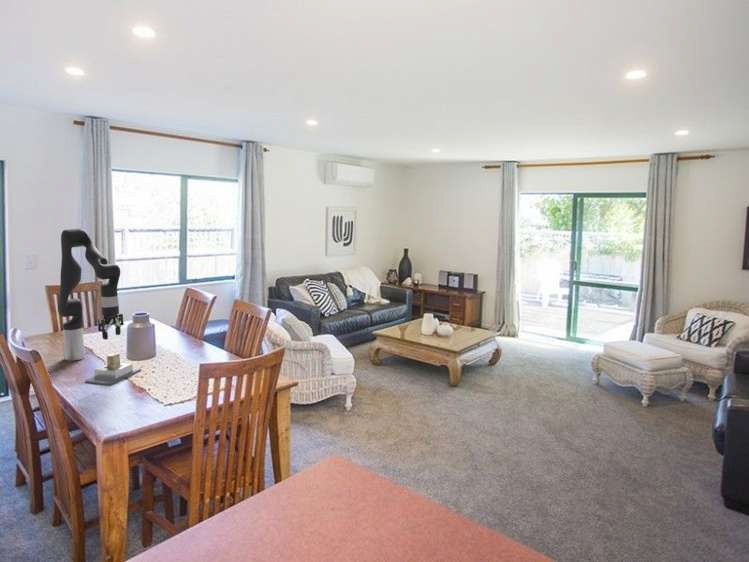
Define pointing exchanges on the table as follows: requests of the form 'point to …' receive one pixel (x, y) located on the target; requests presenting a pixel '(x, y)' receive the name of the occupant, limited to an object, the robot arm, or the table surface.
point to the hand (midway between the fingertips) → (111, 336)
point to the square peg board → (112, 374)
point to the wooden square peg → (113, 361)
